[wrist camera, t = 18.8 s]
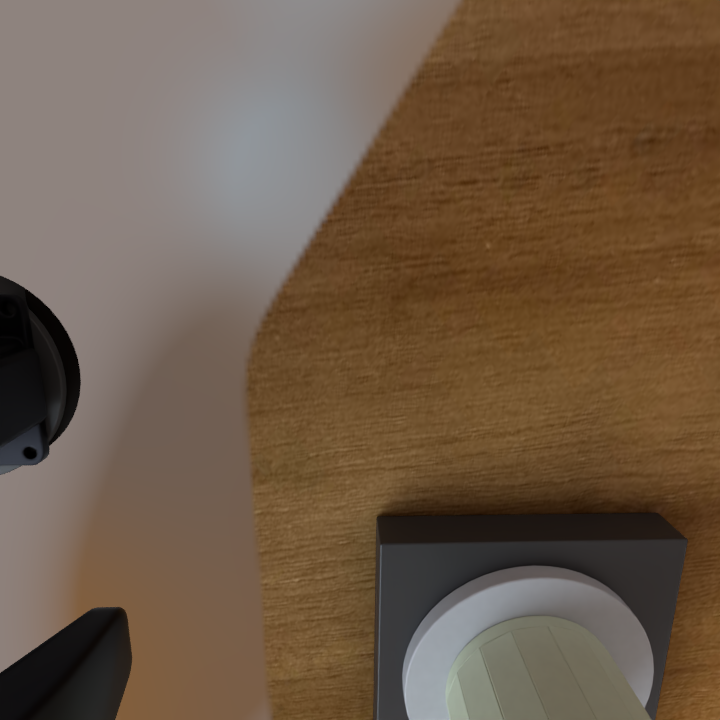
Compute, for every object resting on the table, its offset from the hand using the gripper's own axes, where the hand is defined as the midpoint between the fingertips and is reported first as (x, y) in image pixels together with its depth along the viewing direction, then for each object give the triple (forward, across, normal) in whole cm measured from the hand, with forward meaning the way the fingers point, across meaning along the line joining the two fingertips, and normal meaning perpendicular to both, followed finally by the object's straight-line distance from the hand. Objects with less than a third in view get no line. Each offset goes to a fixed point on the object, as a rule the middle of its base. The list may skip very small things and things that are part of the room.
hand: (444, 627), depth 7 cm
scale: (+13, -6, +12) cm, 19 cm away
